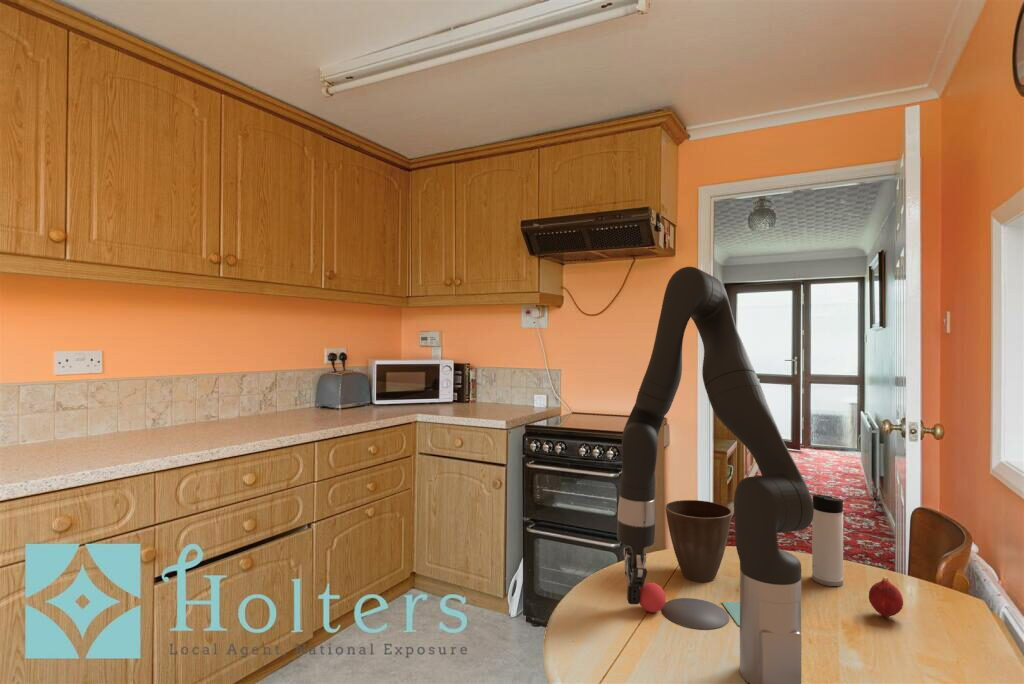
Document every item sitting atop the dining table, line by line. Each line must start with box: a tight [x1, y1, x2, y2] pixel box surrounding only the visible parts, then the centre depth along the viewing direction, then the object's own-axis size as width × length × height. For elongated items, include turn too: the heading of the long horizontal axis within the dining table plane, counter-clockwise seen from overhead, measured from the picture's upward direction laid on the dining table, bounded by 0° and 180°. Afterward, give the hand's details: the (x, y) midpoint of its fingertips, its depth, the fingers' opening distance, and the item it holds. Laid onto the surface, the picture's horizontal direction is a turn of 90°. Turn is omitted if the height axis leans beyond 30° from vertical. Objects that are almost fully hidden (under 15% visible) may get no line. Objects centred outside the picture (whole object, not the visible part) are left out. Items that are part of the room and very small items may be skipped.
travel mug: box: [811, 493, 844, 587], centre depth 132 cm, size 6×7×20 cm
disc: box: [661, 597, 730, 630], centre depth 116 cm, size 13×13×1 cm
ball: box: [639, 582, 667, 613], centre depth 117 cm, size 6×6×6 cm
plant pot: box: [664, 499, 733, 583], centre depth 135 cm, size 15×15×16 cm
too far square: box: [721, 601, 740, 627], centre depth 116 cm, size 10×10×1 cm
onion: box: [868, 576, 904, 618], centre depth 115 cm, size 6×6×8 cm
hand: (632, 602), depth 117 cm, fingers closed
